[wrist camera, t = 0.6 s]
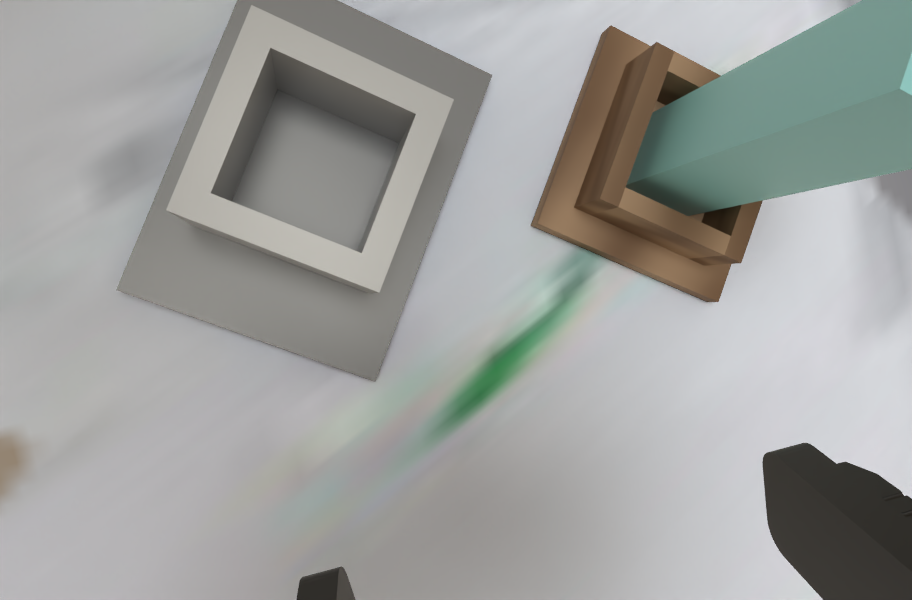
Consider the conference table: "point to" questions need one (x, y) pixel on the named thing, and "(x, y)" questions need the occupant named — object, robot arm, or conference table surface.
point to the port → (307, 181)
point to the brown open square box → (610, 164)
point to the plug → (789, 117)
